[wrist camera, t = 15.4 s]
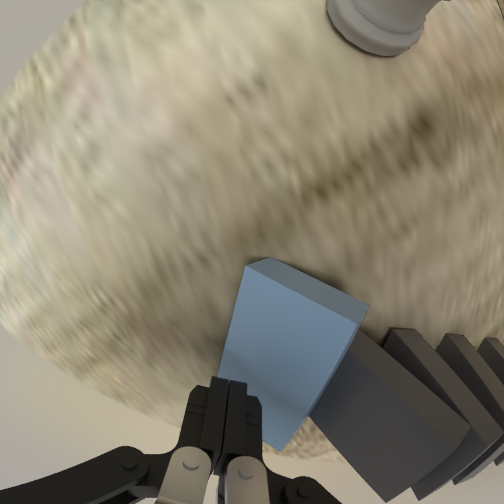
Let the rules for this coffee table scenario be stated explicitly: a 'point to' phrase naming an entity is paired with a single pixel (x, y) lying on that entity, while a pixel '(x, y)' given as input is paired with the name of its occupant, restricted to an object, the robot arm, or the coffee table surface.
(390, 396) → the domino
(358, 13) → the rook chess piece
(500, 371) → the domino
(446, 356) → the domino
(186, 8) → the coffee table surface
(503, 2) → the stack of blocks
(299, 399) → the tile
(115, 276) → the coffee table surface
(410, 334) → the domino
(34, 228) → the coffee table surface
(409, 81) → the coffee table surface
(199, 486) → the robot arm
